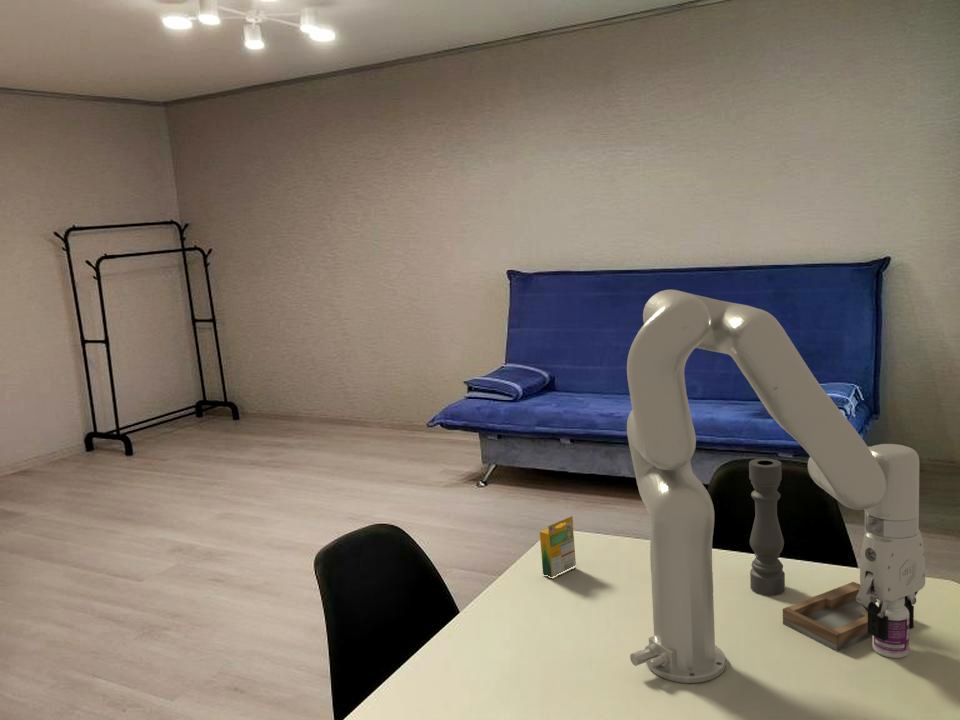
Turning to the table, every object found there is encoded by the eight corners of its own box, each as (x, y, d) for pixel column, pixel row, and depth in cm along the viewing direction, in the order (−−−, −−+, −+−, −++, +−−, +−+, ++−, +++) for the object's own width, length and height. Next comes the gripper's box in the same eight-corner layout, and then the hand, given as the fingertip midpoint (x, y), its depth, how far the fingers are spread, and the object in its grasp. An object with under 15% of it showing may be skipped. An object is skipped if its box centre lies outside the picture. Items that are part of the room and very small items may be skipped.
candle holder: (779, 598, 147) (777, 469, 143) (746, 591, 150) (742, 465, 146) (789, 585, 151) (787, 460, 147) (756, 579, 155) (753, 456, 151)
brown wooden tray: (836, 651, 128) (836, 635, 127) (782, 623, 138) (782, 608, 137) (908, 619, 136) (909, 604, 135) (853, 595, 145) (853, 581, 145)
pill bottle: (916, 658, 124) (916, 601, 123) (881, 660, 124) (882, 603, 123) (898, 640, 129) (899, 585, 128) (866, 642, 130) (866, 587, 128)
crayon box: (566, 564, 169) (563, 512, 167) (576, 568, 166) (573, 516, 165) (542, 575, 164) (538, 522, 162) (552, 579, 162) (548, 526, 160)
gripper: (876, 544, 116) (875, 657, 119) (949, 518, 124) (947, 625, 127) (833, 529, 123) (833, 637, 126) (904, 505, 131) (903, 607, 133)
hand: (890, 630), depth 126 cm, fingers closed on pill bottle, 5 cm apart
